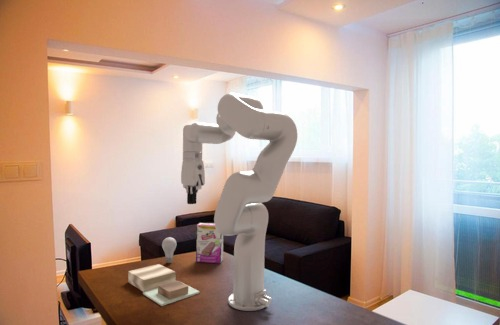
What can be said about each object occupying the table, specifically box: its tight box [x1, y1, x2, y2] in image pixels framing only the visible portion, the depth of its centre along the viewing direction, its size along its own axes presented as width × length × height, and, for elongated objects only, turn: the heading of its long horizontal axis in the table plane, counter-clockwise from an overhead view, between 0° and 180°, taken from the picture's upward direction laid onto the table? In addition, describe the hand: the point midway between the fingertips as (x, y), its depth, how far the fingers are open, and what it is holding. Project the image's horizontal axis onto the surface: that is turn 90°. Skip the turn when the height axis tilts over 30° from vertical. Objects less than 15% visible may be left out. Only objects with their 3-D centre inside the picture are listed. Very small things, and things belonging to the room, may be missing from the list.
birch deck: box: [127, 263, 177, 293], centre depth 116 cm, size 12×12×4 cm
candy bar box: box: [195, 222, 224, 264], centre depth 140 cm, size 11×5×16 cm, turn 84°
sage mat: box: [142, 280, 201, 307], centre depth 106 cm, size 12×14×1 cm
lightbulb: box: [161, 236, 177, 264], centre depth 137 cm, size 6×6×11 cm
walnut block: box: [158, 280, 189, 300], centre depth 105 cm, size 7×7×2 cm
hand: (191, 203), depth 126 cm, fingers closed
